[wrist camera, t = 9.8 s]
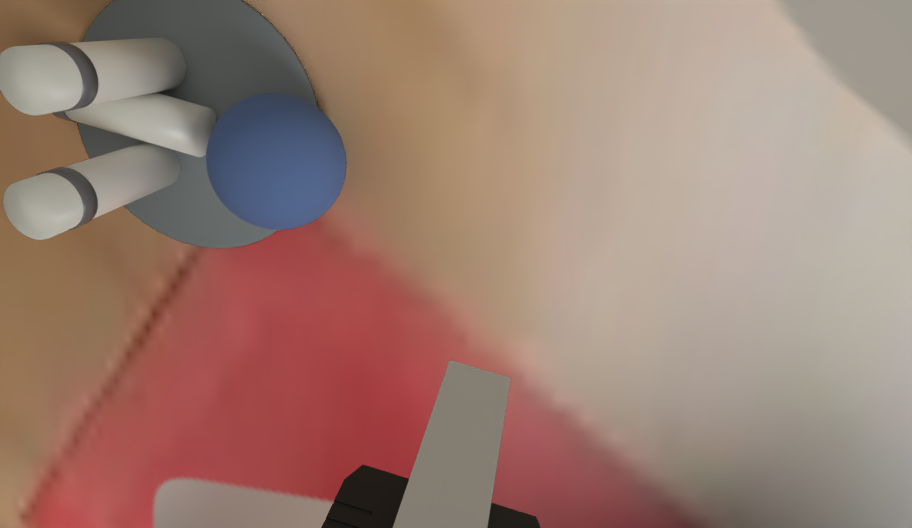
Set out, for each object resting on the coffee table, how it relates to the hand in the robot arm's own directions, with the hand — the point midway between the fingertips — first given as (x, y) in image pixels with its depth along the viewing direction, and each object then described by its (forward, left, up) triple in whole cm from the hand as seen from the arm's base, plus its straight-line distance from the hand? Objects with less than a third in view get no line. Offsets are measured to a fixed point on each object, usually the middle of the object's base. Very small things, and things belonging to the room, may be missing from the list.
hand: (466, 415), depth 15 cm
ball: (+11, 0, -13) cm, 17 cm away
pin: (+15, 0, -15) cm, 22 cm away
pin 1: (+18, -2, -16) cm, 25 cm away
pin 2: (+18, +2, -16) cm, 25 cm away
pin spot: (+16, 0, -16) cm, 23 cm away
